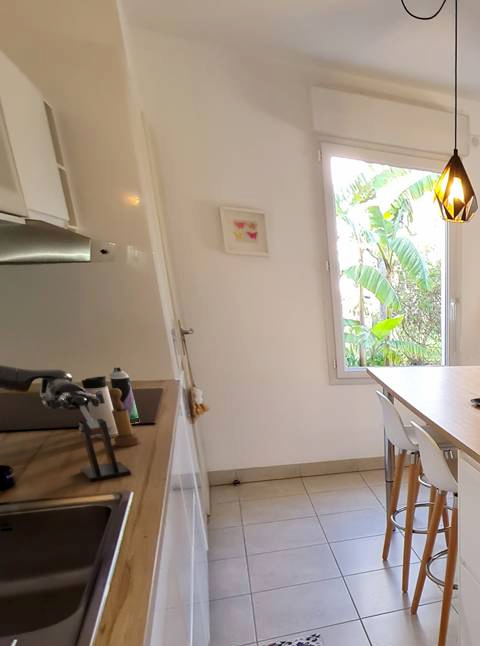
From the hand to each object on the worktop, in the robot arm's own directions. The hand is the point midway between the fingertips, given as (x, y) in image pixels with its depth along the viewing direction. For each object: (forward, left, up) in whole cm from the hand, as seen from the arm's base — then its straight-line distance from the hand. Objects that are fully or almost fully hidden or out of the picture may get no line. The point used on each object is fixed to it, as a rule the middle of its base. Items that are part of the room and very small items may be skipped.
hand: (82, 404), depth 149 cm
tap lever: (0, -1, -4) cm, 4 cm away
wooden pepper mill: (+12, +21, -18) cm, 30 cm away
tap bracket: (0, -7, -18) cm, 20 cm away
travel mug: (+10, +35, -18) cm, 41 cm away
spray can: (+20, +51, -18) cm, 58 cm away
